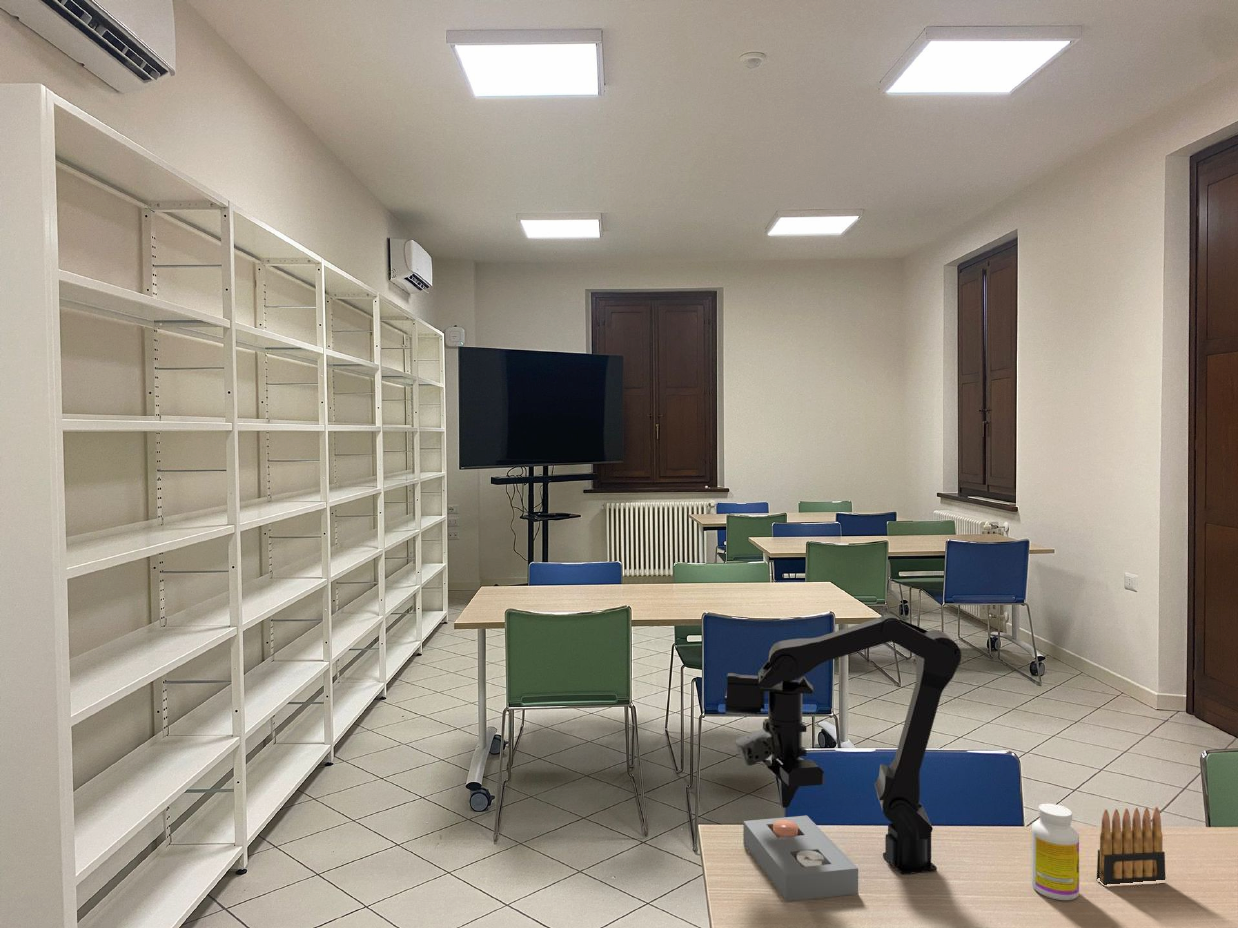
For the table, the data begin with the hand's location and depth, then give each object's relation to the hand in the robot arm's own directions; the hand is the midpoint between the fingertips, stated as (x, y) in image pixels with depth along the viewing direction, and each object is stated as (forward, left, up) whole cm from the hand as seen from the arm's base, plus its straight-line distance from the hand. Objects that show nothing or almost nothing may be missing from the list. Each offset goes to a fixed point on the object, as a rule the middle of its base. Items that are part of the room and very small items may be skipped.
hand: (784, 806), depth 138 cm
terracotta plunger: (0, 0, -6) cm, 6 cm away
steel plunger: (0, +10, -7) cm, 12 cm away
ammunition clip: (-51, +20, -8) cm, 55 cm away
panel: (0, +5, -8) cm, 9 cm away
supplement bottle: (-37, +20, -8) cm, 43 cm away
